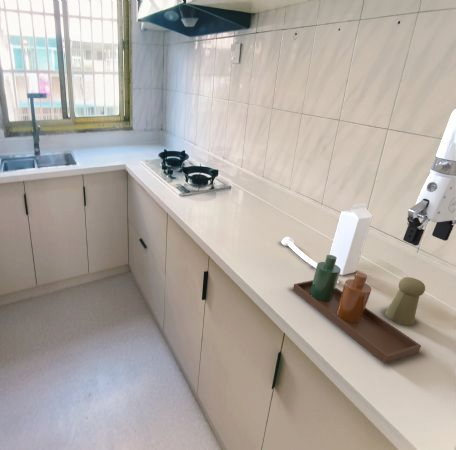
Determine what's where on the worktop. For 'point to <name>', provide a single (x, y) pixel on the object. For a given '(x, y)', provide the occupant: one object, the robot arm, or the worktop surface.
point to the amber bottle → (354, 299)
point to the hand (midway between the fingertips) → (425, 240)
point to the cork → (406, 301)
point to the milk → (351, 237)
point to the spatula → (299, 251)
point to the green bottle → (325, 279)
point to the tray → (364, 328)
